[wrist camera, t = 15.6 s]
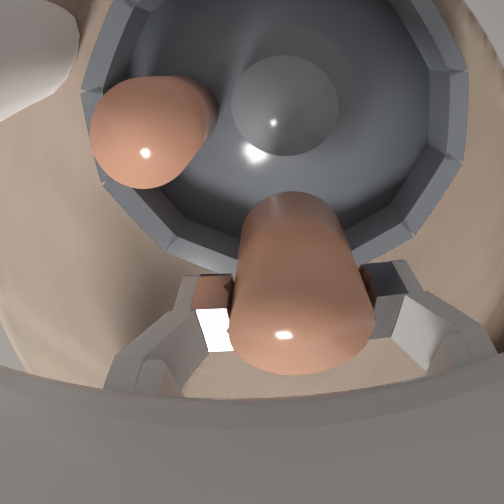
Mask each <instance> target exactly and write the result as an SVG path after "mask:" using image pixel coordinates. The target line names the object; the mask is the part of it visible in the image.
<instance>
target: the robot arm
mask: <svg viewBox="0 0 504 504" xmlns="http://www.w3.org/2000/svg"><path fill="white" fill-rule="evenodd" d="M359 272H360V274H361V277H362V280H363V282H364V285H365V288H366V291H367V293H368V296H369V299H370V302H371V305H372V308H373V310H374V315H375V326H374V330H373V333H372V336H371V337H370V339H377V338H385V337H391V338H392V339H393V340H394V341H395V342H396V343H397V344H398V345H399V346H400V347H401V348H402V349H403V350H404V351H405V352H406V353H407V354H409V355H410V356H411V357H412V358H413V359H414V360H415V361H416V362H417V363H418V364H419V365H420V366H421V367H422V368H423V369H424V370H425V371H426V372H425V374H424V376H423V377H419V378H415V379H410V380H405V381H401V382H396V383H391V384H385V385H380V386H374V387H368V388H362V389H356V390H349V391H341V392H333V393H325V394H315V395H305V396H292V397H276V398H246V399H216V398H187V397H184V396H183V394H182V392H181V390H180V388H181V387H182V386H183V385H184V383H185V382H186V381H187V380H188V378H189V377H190V376H191V375H192V373H193V372H194V371H195V370H196V368H197V367H198V366H199V365H200V363H201V362H202V361H203V360H204V358H205V357H206V356H207V355H208V353H209V351H229V350H234V349H233V347H232V345H231V343H230V340H229V335H228V327H229V319H230V312H231V304H232V297H233V289H234V279H233V275H232V273H228V274H201V275H185V276H184V277H183V279H182V282H181V285H180V288H179V291H178V295H177V298H176V301H175V304H174V308H173V311H168V312H166V313H165V314H164V315H163V316H162V317H160V318H159V319H158V320H157V321H156V322H154V323H153V324H152V325H151V326H150V327H148V328H147V329H146V330H145V331H144V332H142V333H141V334H140V335H139V336H138V337H136V338H135V339H134V340H133V341H132V342H130V343H129V344H128V345H127V346H126V347H125V348H123V349H122V350H121V351H120V352H119V353H117V354H116V355H115V357H114V359H113V362H112V365H111V367H110V370H109V373H108V375H107V378H106V381H105V384H104V387H103V389H100V388H94V387H88V386H83V385H77V384H72V383H67V382H62V381H58V380H53V379H49V378H45V377H41V376H37V375H33V374H29V373H25V372H22V371H18V370H15V369H11V368H8V367H5V366H1V365H0V504H504V352H503V353H500V354H498V353H497V351H496V349H495V347H494V345H493V343H492V341H491V339H490V338H489V336H488V334H487V332H486V330H485V329H484V327H483V326H482V325H481V324H479V323H478V322H476V321H475V320H473V319H472V318H470V317H469V316H467V315H466V314H464V313H462V312H461V311H459V310H458V309H456V308H454V307H453V306H451V305H450V304H448V303H447V302H445V301H443V300H442V299H440V298H438V297H437V296H435V295H434V294H432V293H430V292H429V291H425V292H424V290H423V289H422V287H421V285H420V284H419V282H418V280H417V279H416V277H415V275H414V274H413V272H412V270H411V269H410V267H409V265H408V264H407V262H406V261H405V260H395V261H389V262H381V263H370V264H360V267H359Z"/></svg>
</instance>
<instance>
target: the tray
mask: <svg viewBox="0 0 504 504" xmlns="http://www.w3.org/2000/svg"><path fill="white" fill-rule="evenodd" d="M465 69H467V66H466V64H465V62H464V59H463V57H462V55H461V53H460V51H459V49H458V47H457V44H456V42H455V40H454V38H453V36H452V34H451V33H450V31H449V29H448V27H447V25H446V23H445V21H444V20H443V18H442V16H441V14H440V13H439V11H438V9H437V8H436V6H435V4H434V3H433V1H432V0H113V2H112V4H111V6H110V9H109V11H108V13H107V15H106V18H105V20H104V23H103V25H102V27H101V30H100V32H99V35H98V38H97V40H96V43H95V46H94V49H93V51H92V54H91V57H90V60H89V63H88V66H87V70H86V73H85V76H84V79H83V83H82V86H81V89H82V90H86V92H83V93H81V99H82V104H83V110H84V115H85V120H86V124H87V129H88V133H89V138H90V123H91V118H92V115H93V112H94V110H95V108H96V106H97V104H98V102H99V101H100V99H101V98H102V97H103V96H104V95H105V93H107V92H108V91H109V90H110V89H111V88H112V87H114V86H115V85H117V84H119V83H121V82H123V81H126V80H128V79H132V78H138V77H151V76H169V75H185V76H190V77H193V78H195V79H198V80H199V81H201V82H203V83H204V84H205V85H206V86H207V87H208V88H209V89H210V90H211V92H212V93H213V95H214V97H215V100H216V103H217V107H218V119H217V123H216V126H215V129H214V131H213V133H212V134H211V136H210V137H209V138H208V140H207V141H206V142H205V143H204V144H203V146H202V147H201V148H200V149H199V151H198V152H197V153H196V155H195V156H194V157H193V158H192V160H191V161H190V162H189V163H188V165H187V166H186V167H185V169H184V170H183V171H182V172H181V173H180V174H179V175H178V176H177V177H176V178H174V179H173V180H171V181H170V182H168V183H166V184H164V185H162V186H159V187H155V188H150V189H137V188H132V187H128V186H125V185H123V184H121V183H119V182H117V181H115V180H114V179H112V178H111V177H110V176H109V175H107V174H106V172H105V171H104V170H103V169H102V168H101V167H100V165H99V164H98V162H97V160H96V158H95V156H94V158H95V162H96V166H97V170H98V174H99V177H100V181H101V182H104V181H107V182H106V183H105V184H104V185H103V186H104V188H105V189H106V190H107V191H108V192H109V193H110V194H111V196H112V197H113V198H114V199H115V200H116V201H117V202H118V203H119V204H120V205H121V207H122V208H123V209H124V210H125V211H126V212H127V213H128V214H129V215H130V216H131V218H132V219H133V220H134V221H135V222H136V223H137V224H138V225H139V226H140V227H141V228H142V229H143V230H144V231H145V232H146V234H147V235H148V236H149V237H150V238H151V239H152V240H153V241H154V242H155V243H156V244H157V245H158V246H159V247H160V248H161V249H162V250H164V249H165V248H167V247H168V248H167V251H166V253H168V254H171V255H173V256H176V257H178V258H181V259H183V260H186V261H189V262H191V263H194V264H196V265H199V266H202V267H204V268H207V269H209V270H212V271H215V272H217V273H220V274H228V273H232V275H233V279H235V275H236V267H237V260H238V253H239V246H240V239H241V232H242V227H243V223H244V221H245V218H246V217H247V215H248V213H249V212H250V211H251V210H252V208H253V207H254V206H255V205H257V204H258V203H259V202H260V201H262V200H263V199H265V198H267V197H269V196H271V195H274V194H277V193H281V192H288V191H298V192H305V193H309V194H312V195H314V196H317V197H318V198H320V199H322V200H323V201H325V202H326V203H327V204H328V205H329V206H330V207H331V208H332V209H333V211H334V212H335V213H336V215H337V217H338V220H339V222H340V224H341V227H342V229H343V231H344V234H345V236H346V239H347V241H348V244H349V246H350V249H351V251H352V254H353V256H354V259H355V261H356V264H357V266H358V267H360V264H366V263H368V262H369V261H371V260H373V259H375V258H377V257H378V256H380V255H382V254H384V253H386V252H387V251H389V250H391V249H393V248H395V247H396V246H398V245H400V244H402V243H403V242H405V241H407V240H409V239H410V238H412V234H411V232H412V233H414V234H416V233H417V232H418V230H419V229H420V228H421V226H422V225H423V223H424V222H425V221H426V219H427V218H428V216H429V215H430V213H431V212H432V210H433V209H434V208H435V206H436V205H437V203H438V202H439V200H440V199H441V197H442V196H443V194H444V193H445V191H446V189H447V188H448V186H449V185H450V183H451V182H452V180H453V178H454V177H455V175H456V174H457V172H458V170H459V169H460V167H461V165H462V164H461V163H460V162H459V161H463V159H464V151H465V142H466V130H467V116H468V73H467V72H464V71H463V70H465ZM93 155H94V154H93ZM457 160H459V161H457ZM410 231H411V232H410Z"/></svg>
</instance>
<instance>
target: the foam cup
mask: <svg viewBox="0 0 504 504" xmlns="http://www.w3.org/2000/svg"><path fill="white" fill-rule="evenodd" d="M79 39H80V33H79V30H78V26H77V23H76V19H75V17H74V16H73V15H72V14H71V13H69V12H68V11H67V10H66V9H64V8H63V7H60V6H58V5H57V4H54V3H51V2H49V1H46V0H0V122H1V121H3V120H4V119H6V118H8V117H9V116H11V115H13V114H15V113H17V112H18V111H20V110H22V109H24V108H26V107H28V106H30V105H32V104H34V103H36V102H38V101H40V100H42V99H44V98H46V97H48V96H49V95H51V94H53V93H54V92H55V91H56V90H57V89H58V88H59V87H60V86H61V85H62V84H63V83H64V82H65V80H66V79H67V78H68V76H69V74H70V72H71V69H72V67H73V65H74V63H75V61H76V59H77V55H78V46H79Z"/></svg>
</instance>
